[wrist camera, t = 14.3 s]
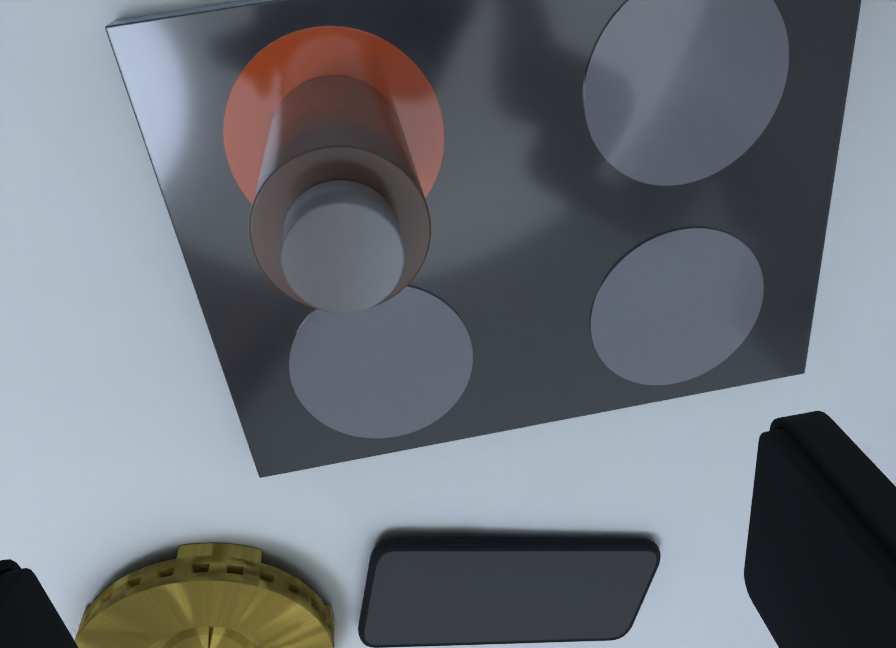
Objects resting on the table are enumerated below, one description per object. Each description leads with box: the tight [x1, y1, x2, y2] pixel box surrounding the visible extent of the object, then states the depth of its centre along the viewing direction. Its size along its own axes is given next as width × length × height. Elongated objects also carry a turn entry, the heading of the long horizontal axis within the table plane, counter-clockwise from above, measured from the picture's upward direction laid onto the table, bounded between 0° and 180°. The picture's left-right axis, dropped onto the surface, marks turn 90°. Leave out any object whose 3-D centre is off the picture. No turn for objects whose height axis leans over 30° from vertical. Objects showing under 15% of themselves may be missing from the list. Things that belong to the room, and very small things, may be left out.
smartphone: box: [358, 538, 660, 648], centre depth 38 cm, size 7×1×15 cm
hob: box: [105, 0, 861, 478], centre depth 28 cm, size 24×18×1 cm
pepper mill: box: [249, 76, 431, 314], centre depth 21 cm, size 4×4×9 cm
